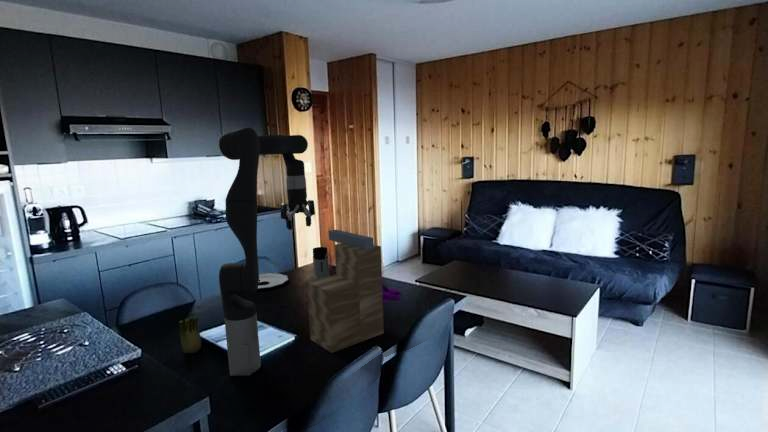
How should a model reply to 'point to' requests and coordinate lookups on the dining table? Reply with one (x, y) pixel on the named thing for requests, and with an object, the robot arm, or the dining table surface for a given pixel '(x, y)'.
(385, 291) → the cloth
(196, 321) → the fennel bulb
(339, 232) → the blue-gray bar
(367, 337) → the plinth
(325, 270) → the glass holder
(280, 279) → the plate
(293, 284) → the dining table surface
